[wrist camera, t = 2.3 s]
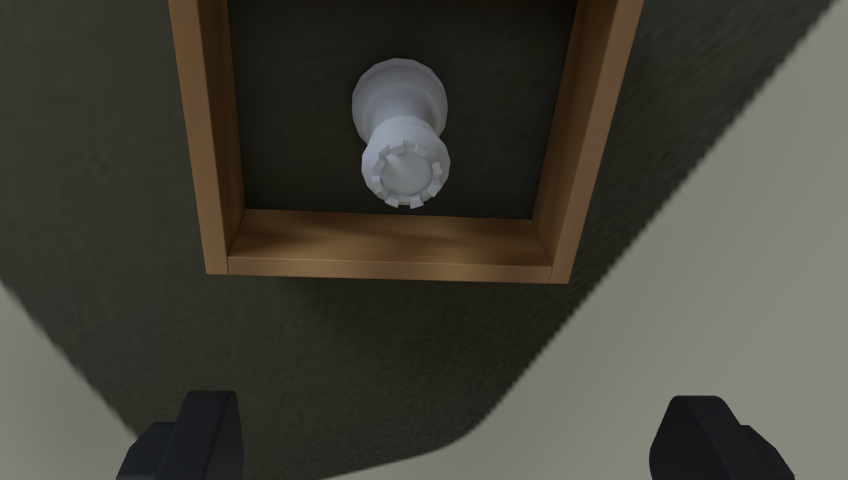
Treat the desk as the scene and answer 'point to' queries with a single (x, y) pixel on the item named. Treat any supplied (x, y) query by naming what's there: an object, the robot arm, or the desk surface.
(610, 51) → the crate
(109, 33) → the desk surface
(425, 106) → the rook chess piece
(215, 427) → the robot arm
